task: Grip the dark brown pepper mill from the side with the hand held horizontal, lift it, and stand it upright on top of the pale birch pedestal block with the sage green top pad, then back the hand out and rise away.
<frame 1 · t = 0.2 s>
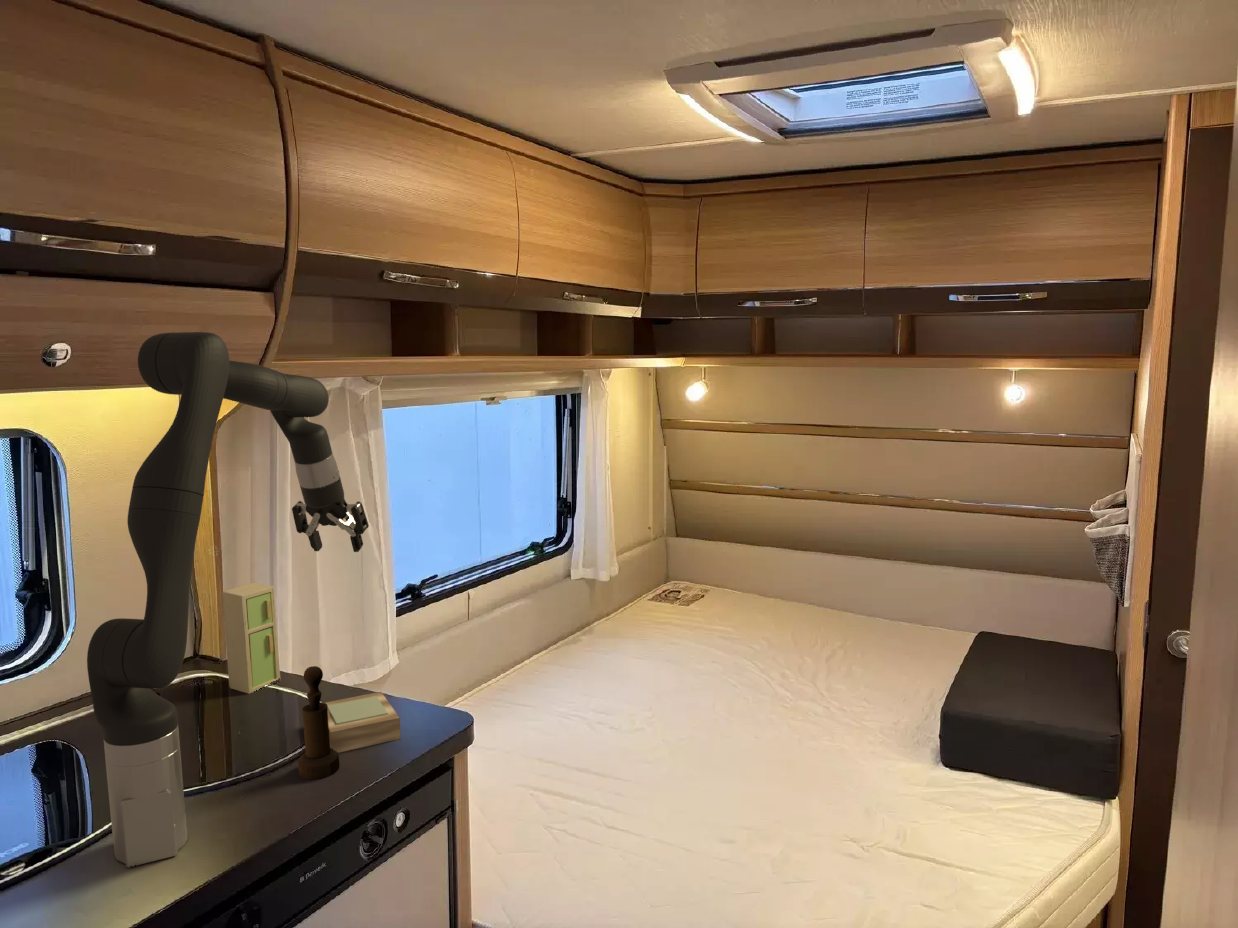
hand: (338, 549, 175), 30 cm above the counter, tool tilted 20°, fingers open, 8 cm apart
toy refrigerator: (256, 686, 185), on the counter
dark brown pepper mill: (319, 771, 147), on the counter
birch pedestal: (358, 731, 162), on the counter
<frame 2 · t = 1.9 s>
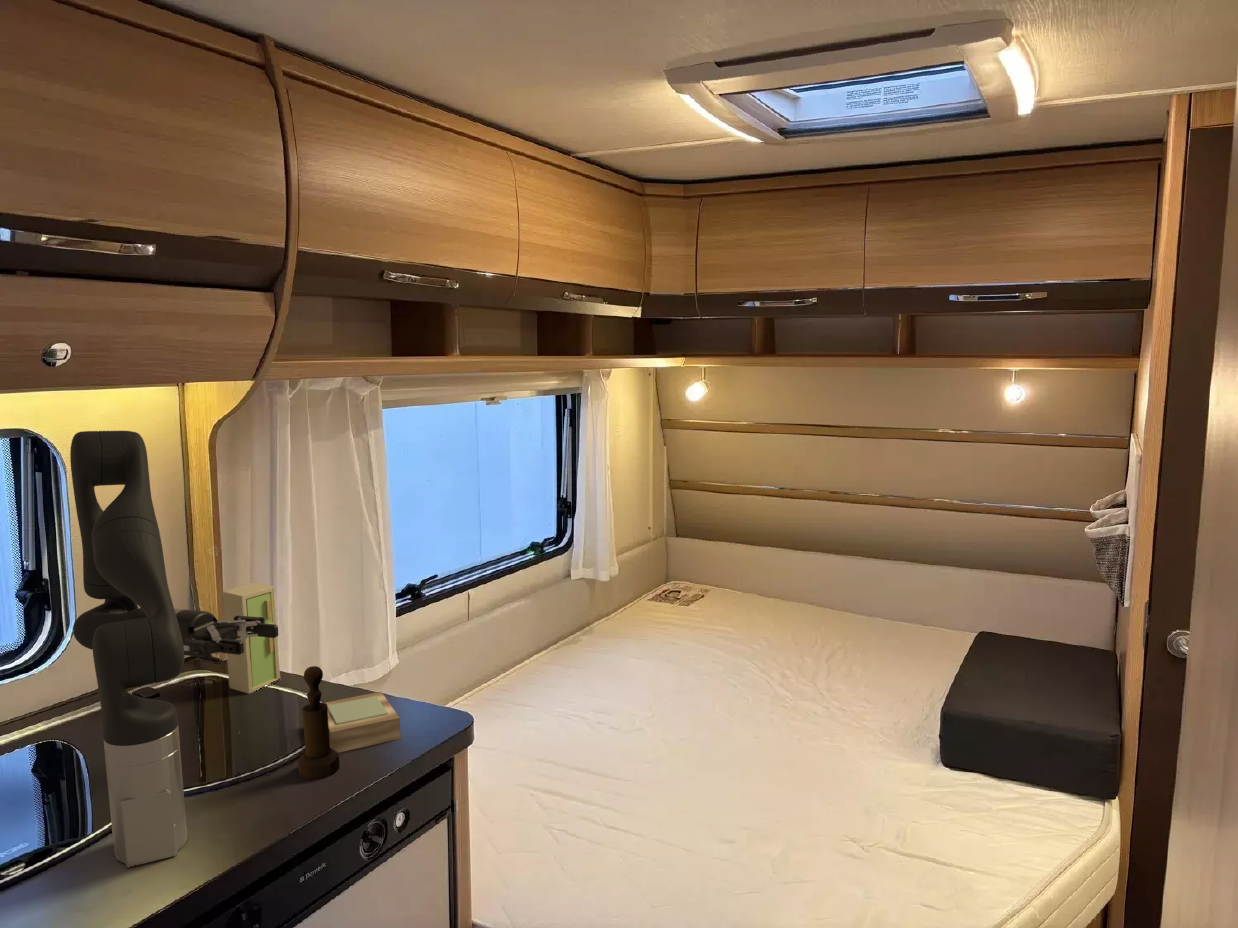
hand: (260, 639, 147), 22 cm above the counter, tool horizontal, fingers open, 8 cm apart
nothing on the counter moved.
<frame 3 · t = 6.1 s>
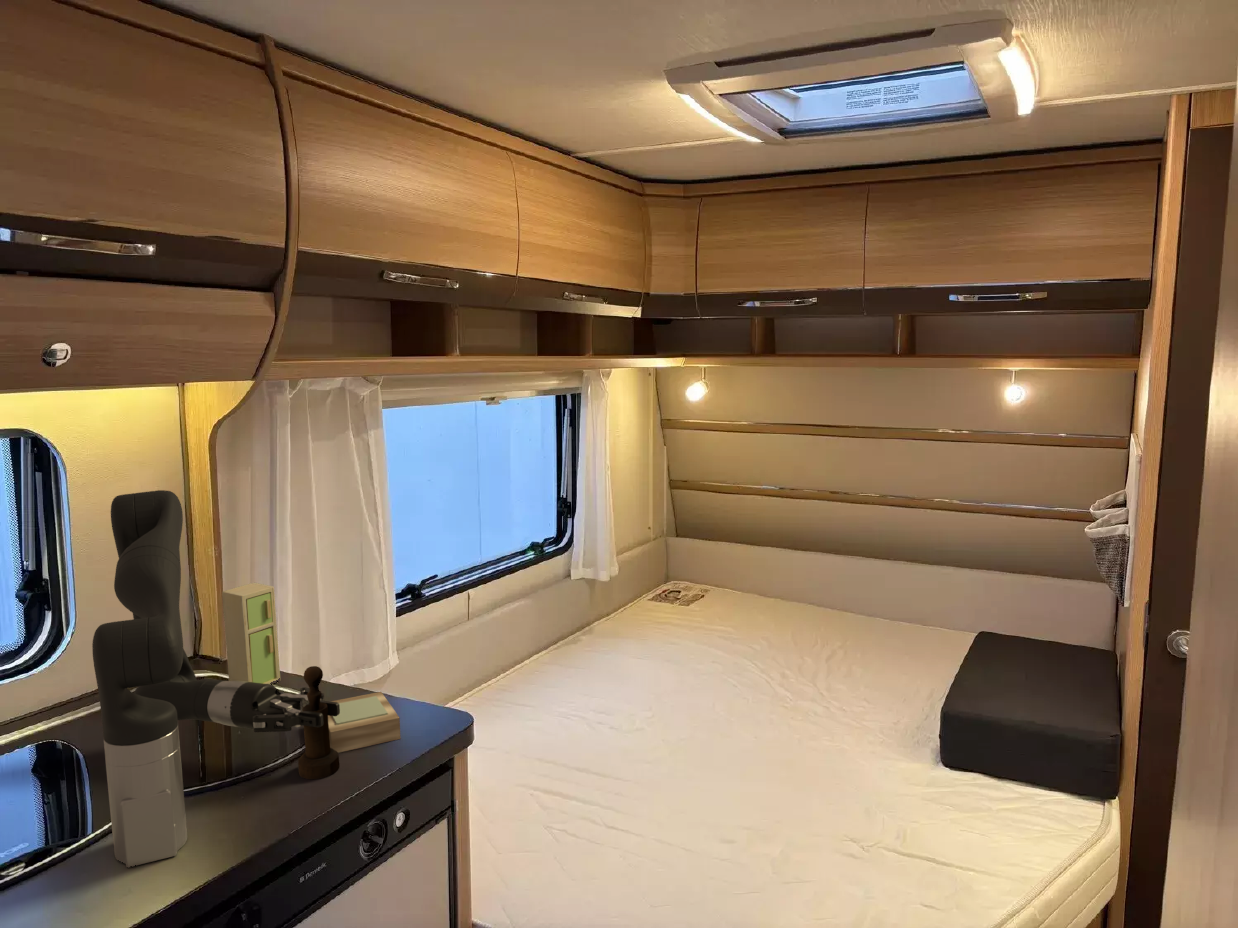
hand: (330, 714, 145), 10 cm above the counter, tool horizontal, fingers closed on dark brown pepper mill, 4 cm apart
dark brown pepper mill: (319, 771, 147), on the counter, touching gripper
everything else where it was.
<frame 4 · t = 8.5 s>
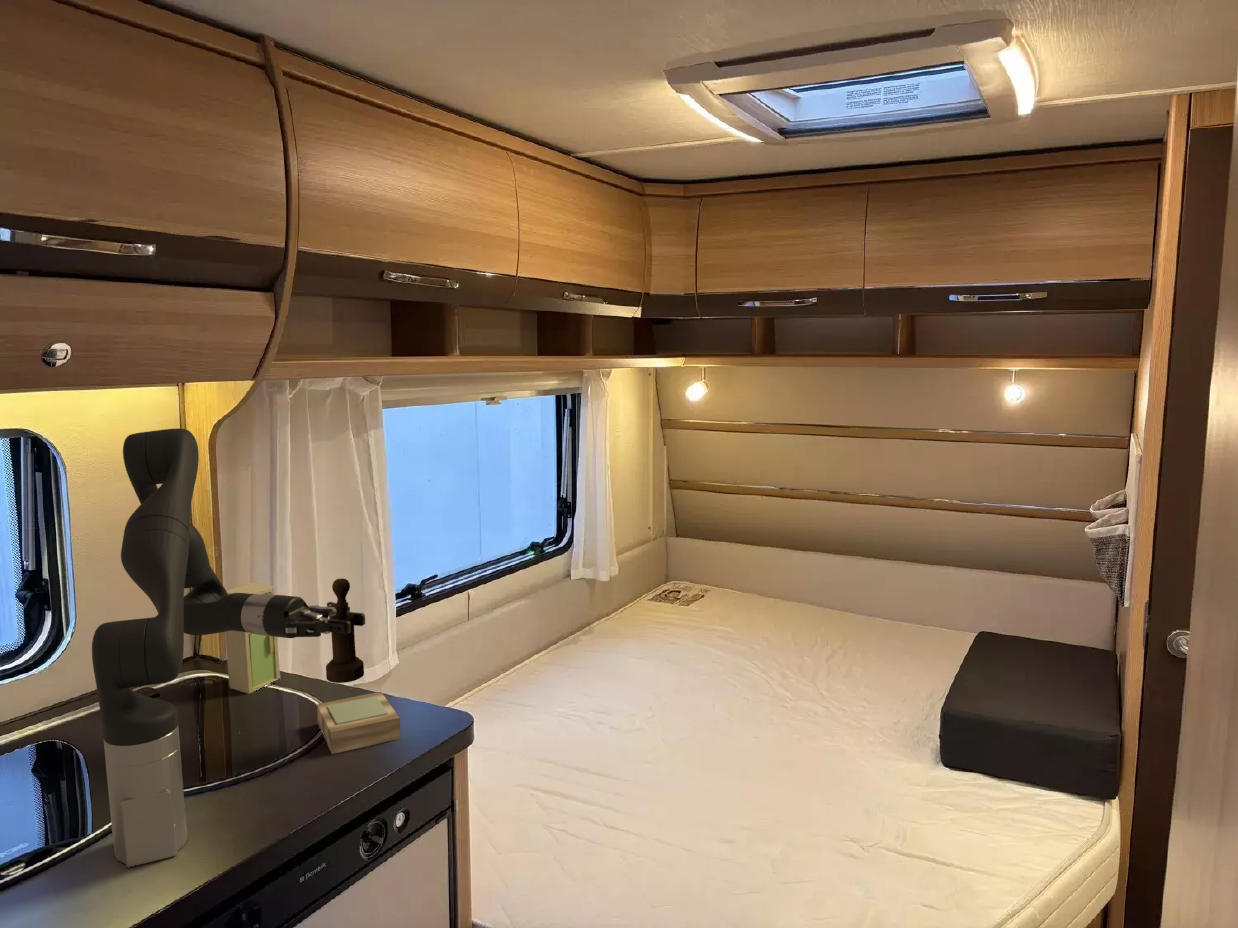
hand: (356, 623, 156), 22 cm above the counter, tool horizontal, fingers closed on dark brown pepper mill, 4 cm apart
dark brown pepper mill: (345, 677, 158), point 12 cm above the counter, touching gripper
everything else where it was.
when the fingers open (15 cm above the counter, at t = 11.1 s): dark brown pepper mill stays where it is, resting on birch pedestal.
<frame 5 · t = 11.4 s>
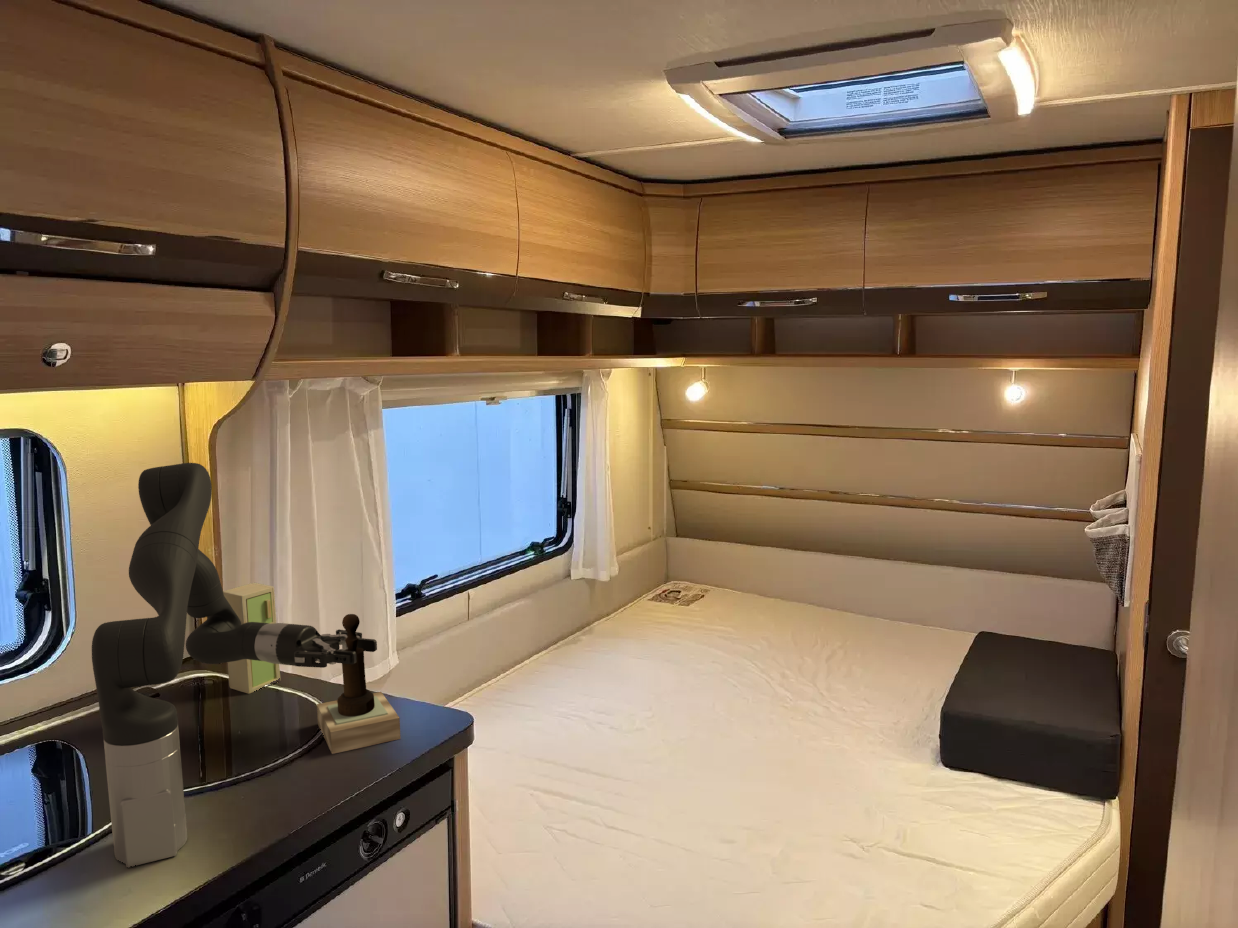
hand: (365, 651, 159), 15 cm above the counter, tool horizontal, fingers open, 6 cm apart
dark brown pepper mill: (356, 709, 162), point 4 cm above the counter, touching birch pedestal
everything else where it was.
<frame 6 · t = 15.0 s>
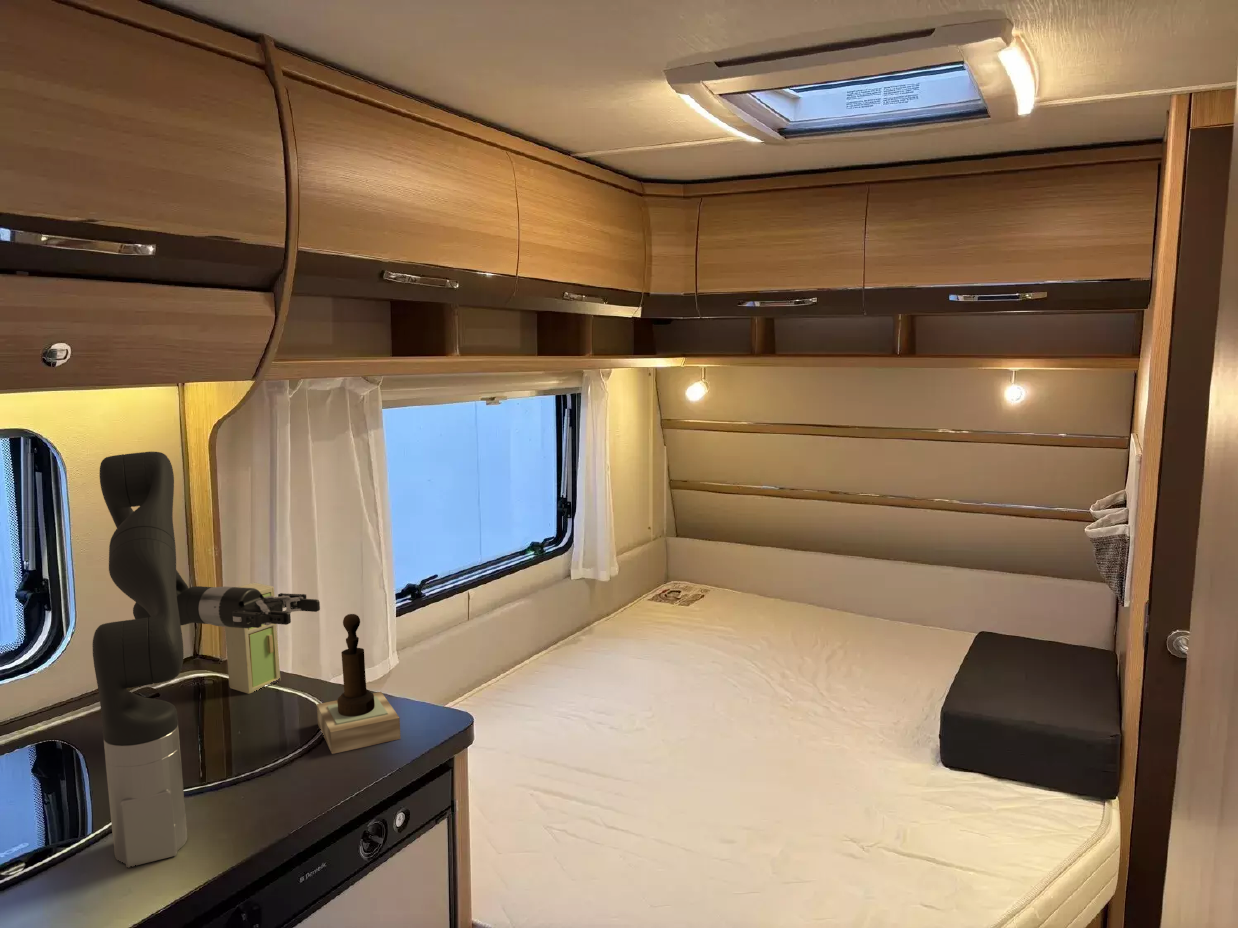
hand: (304, 611, 162), 22 cm above the counter, tool horizontal, fingers open, 8 cm apart
nothing on the counter moved.
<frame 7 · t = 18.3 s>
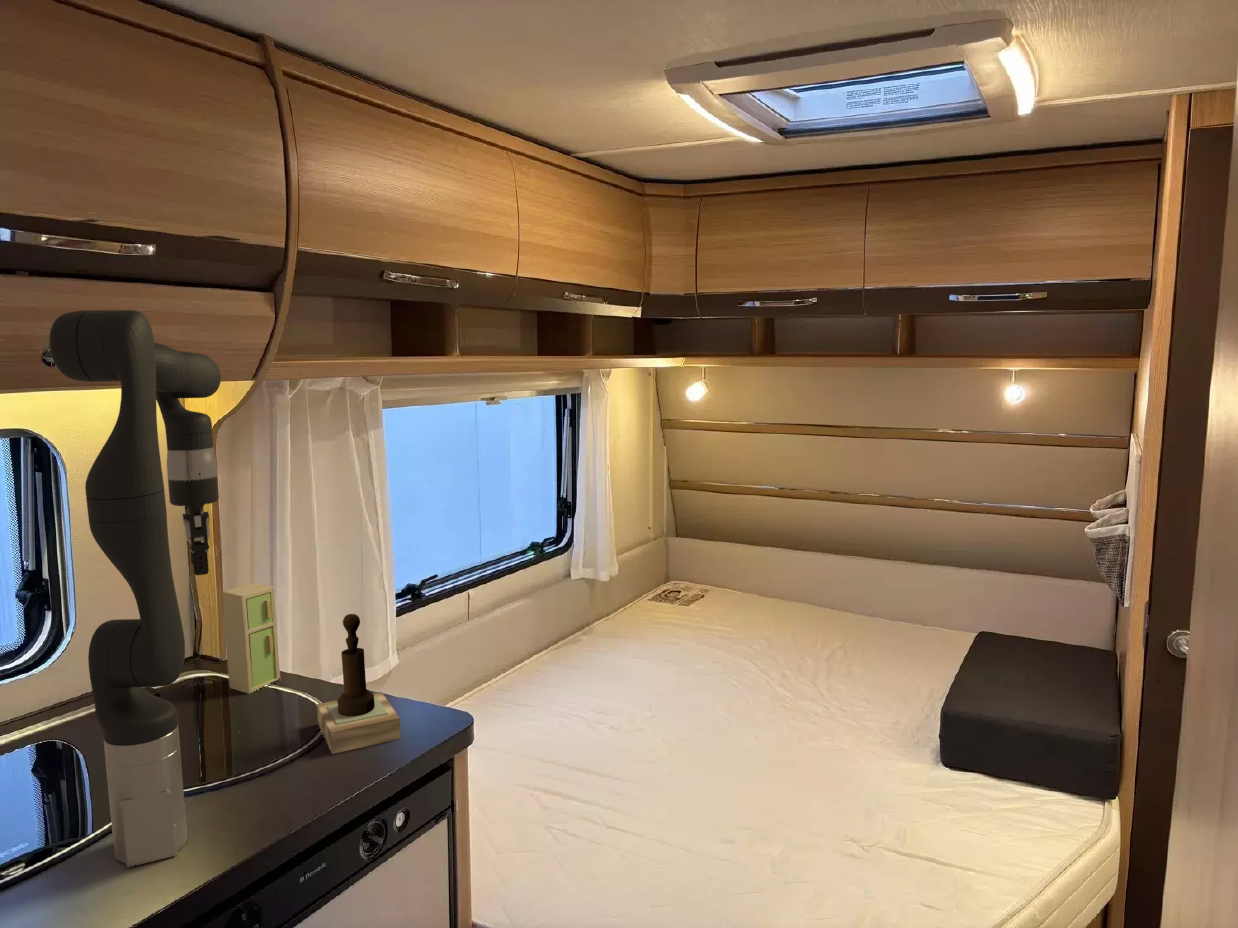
hand: (200, 568, 150), 33 cm above the counter, tool pointing down, fingers open, 8 cm apart
nothing on the counter moved.
at the end: dark brown pepper mill inside the target area on the birch pedestal (0.1 cm from its centre), point 4.1 cm above the birch pedestal's base; dark brown pepper mill tilted 0°; the gripper is holding nothing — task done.
